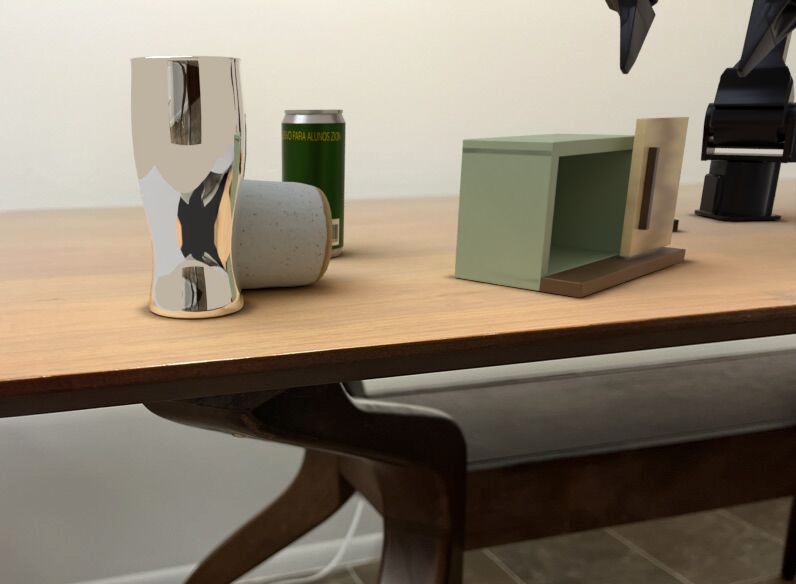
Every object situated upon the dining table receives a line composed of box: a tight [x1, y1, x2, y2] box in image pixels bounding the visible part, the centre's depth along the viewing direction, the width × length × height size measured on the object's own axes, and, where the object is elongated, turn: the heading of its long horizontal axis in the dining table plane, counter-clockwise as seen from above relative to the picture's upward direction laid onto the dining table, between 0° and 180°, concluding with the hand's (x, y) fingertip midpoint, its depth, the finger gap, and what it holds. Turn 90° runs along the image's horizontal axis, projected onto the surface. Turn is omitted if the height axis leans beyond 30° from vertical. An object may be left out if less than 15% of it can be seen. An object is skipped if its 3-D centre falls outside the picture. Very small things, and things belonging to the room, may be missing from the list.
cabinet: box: [454, 133, 687, 299], centre depth 62 cm, size 18×10×10 cm, turn 135°
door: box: [620, 116, 690, 257], centre depth 63 cm, size 8×1×10 cm, turn 135°
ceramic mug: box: [236, 179, 333, 290], centre depth 59 cm, size 11×8×8 cm
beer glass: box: [129, 55, 248, 319], centre depth 50 cm, size 7×7×15 cm
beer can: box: [280, 109, 347, 259], centre depth 69 cm, size 5×5×12 cm
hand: (679, 72), depth 65 cm, fingers open, 9 cm apart
